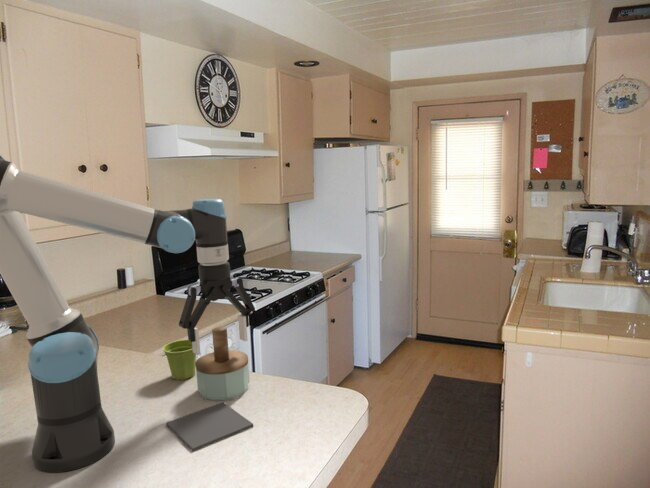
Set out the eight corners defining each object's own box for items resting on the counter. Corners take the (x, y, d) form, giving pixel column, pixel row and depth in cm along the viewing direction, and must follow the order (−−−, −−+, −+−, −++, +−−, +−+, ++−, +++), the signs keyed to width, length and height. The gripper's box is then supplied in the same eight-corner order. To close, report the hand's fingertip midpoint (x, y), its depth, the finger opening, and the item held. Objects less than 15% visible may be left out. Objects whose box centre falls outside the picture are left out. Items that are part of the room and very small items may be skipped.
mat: (193, 451, 102) (192, 448, 102) (166, 425, 113) (166, 422, 113) (253, 426, 111) (253, 423, 111) (223, 404, 122) (222, 402, 121)
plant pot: (196, 382, 135) (193, 351, 133) (160, 383, 135) (157, 352, 133) (205, 368, 144) (202, 338, 142) (172, 369, 144) (169, 340, 143)
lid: (210, 379, 119) (207, 342, 118) (187, 363, 129) (183, 329, 128) (257, 363, 127) (255, 329, 126) (232, 350, 137) (230, 318, 136)
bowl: (213, 405, 121) (211, 377, 120) (192, 389, 130) (189, 363, 129) (257, 389, 128) (255, 363, 127) (233, 375, 138) (231, 351, 137)
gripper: (171, 273, 114) (180, 364, 117) (264, 256, 129) (270, 337, 132) (158, 268, 119) (167, 355, 123) (249, 253, 134) (255, 331, 138)
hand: (220, 346), depth 128 cm, fingers open, 12 cm apart
